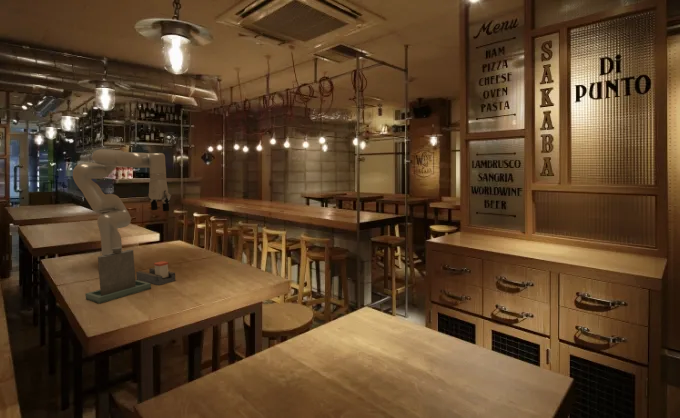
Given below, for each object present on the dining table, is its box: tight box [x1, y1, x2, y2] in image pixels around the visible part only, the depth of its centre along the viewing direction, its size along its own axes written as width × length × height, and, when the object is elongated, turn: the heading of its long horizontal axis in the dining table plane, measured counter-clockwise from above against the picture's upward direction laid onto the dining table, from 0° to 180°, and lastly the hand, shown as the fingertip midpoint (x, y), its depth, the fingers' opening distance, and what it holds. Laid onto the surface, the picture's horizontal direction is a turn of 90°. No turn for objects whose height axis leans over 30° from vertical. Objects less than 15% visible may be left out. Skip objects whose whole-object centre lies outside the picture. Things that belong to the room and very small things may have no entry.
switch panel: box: [135, 267, 176, 286], centre depth 199 cm, size 18×9×4 cm, turn 58°
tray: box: [84, 279, 152, 304], centre depth 178 cm, size 11×23×2 cm, turn 148°
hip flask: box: [97, 247, 136, 296], centre depth 177 cm, size 16×4×20 cm, turn 153°
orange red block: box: [153, 260, 169, 278], centre depth 196 cm, size 4×5×7 cm
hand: (160, 210), depth 208 cm, fingers open, 9 cm apart
